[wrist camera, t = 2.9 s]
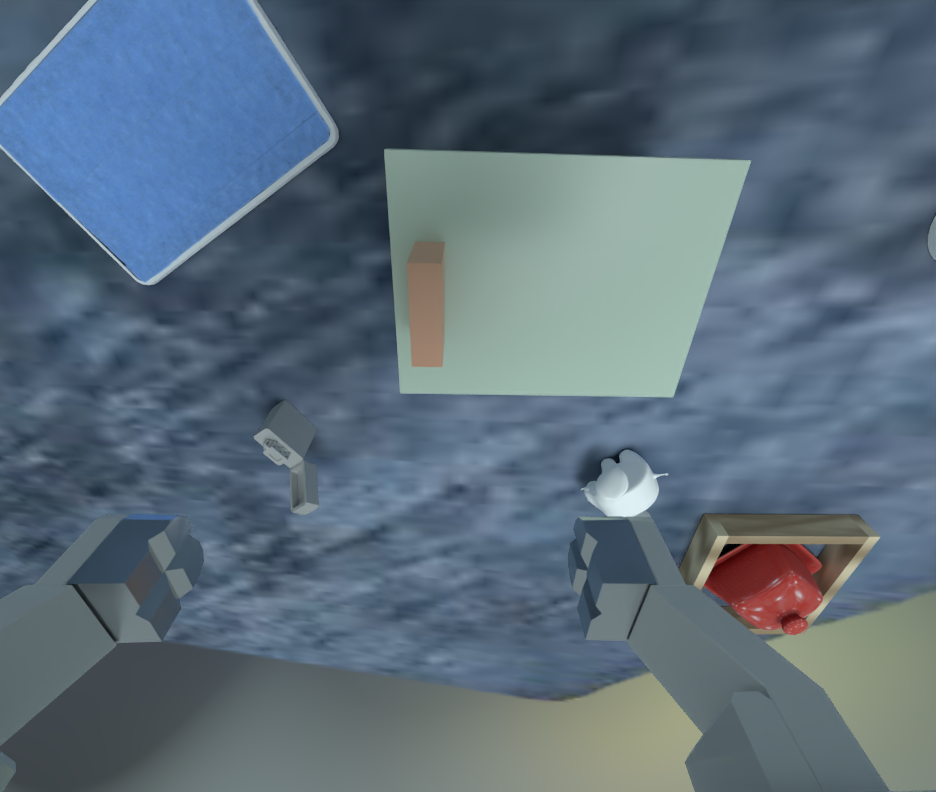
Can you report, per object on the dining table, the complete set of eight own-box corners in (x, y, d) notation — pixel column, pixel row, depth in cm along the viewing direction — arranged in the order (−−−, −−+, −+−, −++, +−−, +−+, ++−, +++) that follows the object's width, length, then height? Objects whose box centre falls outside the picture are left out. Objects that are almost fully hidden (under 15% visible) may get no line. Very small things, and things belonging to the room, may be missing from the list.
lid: (389, 147, 21) (368, 154, 16) (730, 158, 22) (810, 167, 17) (403, 378, 28) (391, 432, 23) (661, 382, 28) (704, 436, 23)
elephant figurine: (564, 460, 43) (577, 505, 38) (640, 424, 41) (665, 467, 36) (592, 501, 46) (608, 547, 41) (664, 469, 44) (690, 514, 39)
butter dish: (771, 515, 48) (826, 584, 41) (819, 558, 52) (877, 627, 45) (683, 565, 52) (719, 636, 45) (734, 601, 56) (774, 671, 49)
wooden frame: (703, 513, 47) (717, 535, 45) (858, 515, 48) (880, 536, 45) (659, 611, 57) (669, 634, 54) (788, 611, 57) (803, 634, 55)
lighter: (271, 408, 39) (232, 467, 32) (285, 399, 38) (247, 457, 32) (327, 457, 42) (301, 521, 35) (340, 449, 42) (316, 512, 35)
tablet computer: (153, 287, 33) (142, 292, 32) (-14, 123, 28) (-34, 123, 27) (347, 138, 28) (343, 138, 27) (194, -100, 23) (180, -112, 22)
